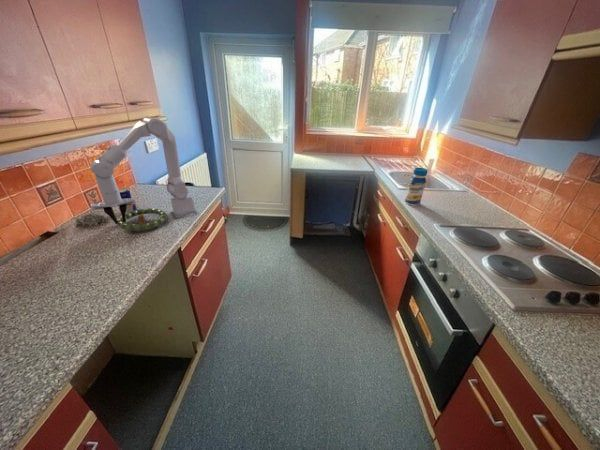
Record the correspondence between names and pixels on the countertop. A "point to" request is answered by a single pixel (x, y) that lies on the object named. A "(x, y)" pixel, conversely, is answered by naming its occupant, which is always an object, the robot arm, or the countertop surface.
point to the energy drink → (126, 194)
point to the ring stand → (141, 219)
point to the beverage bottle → (416, 186)
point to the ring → (142, 226)
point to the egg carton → (93, 220)
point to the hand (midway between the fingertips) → (120, 222)
